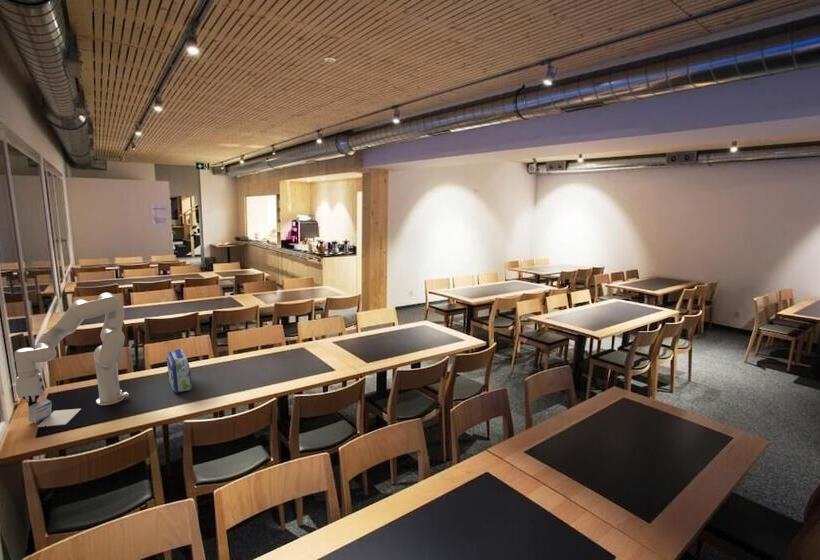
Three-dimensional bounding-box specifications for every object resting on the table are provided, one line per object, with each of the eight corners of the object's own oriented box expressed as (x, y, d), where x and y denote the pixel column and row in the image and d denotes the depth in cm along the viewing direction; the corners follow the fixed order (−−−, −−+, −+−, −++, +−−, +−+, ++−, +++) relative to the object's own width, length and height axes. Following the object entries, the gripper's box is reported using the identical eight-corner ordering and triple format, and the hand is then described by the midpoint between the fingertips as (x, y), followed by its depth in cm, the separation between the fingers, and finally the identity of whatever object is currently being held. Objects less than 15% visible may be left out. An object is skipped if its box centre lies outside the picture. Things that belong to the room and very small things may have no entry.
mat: (81, 409, 226) (81, 408, 226) (65, 424, 211) (65, 423, 211) (54, 411, 223) (54, 410, 223) (36, 427, 208) (36, 426, 208)
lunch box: (167, 380, 263) (164, 348, 259) (186, 376, 269) (184, 344, 265) (172, 397, 242) (169, 362, 238) (193, 392, 248) (191, 358, 244)
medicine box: (35, 424, 210) (36, 409, 208) (28, 420, 211) (28, 406, 208) (51, 415, 218) (52, 401, 215) (44, 411, 218) (44, 397, 216)
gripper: (50, 369, 215) (55, 403, 218) (14, 371, 211) (20, 405, 215) (41, 375, 208) (46, 410, 211) (4, 377, 204) (10, 413, 208)
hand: (33, 407), depth 213 cm, fingers closed
